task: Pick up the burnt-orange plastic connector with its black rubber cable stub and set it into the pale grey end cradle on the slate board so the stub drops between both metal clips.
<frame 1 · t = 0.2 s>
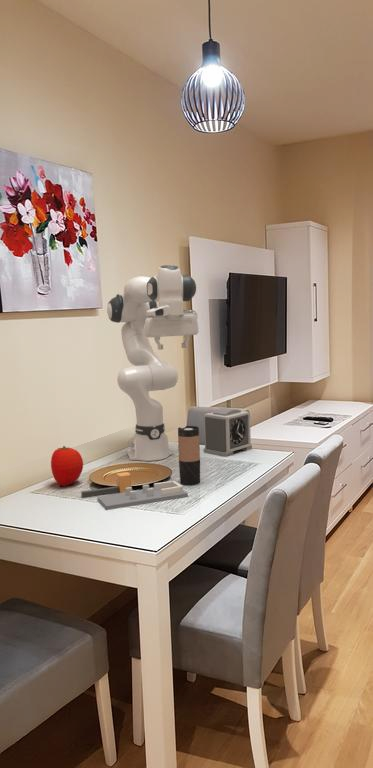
hand: (172, 348, 228), 48 cm above the table, fingers open, 8 cm apart
clip board: (142, 498, 208), on the table
alarm clock: (228, 451, 269), on the table
connector: (124, 490, 217), on the table
travel mug: (190, 483, 224), on the table
red apple: (67, 484, 227), on the table
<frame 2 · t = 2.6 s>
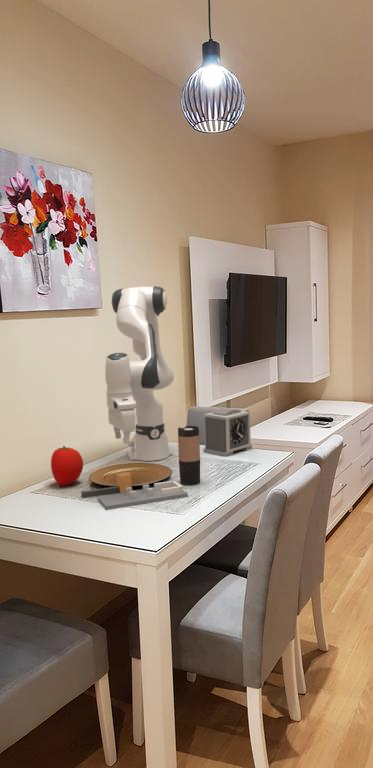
hand: (122, 440, 214), 18 cm above the table, fingers open, 8 cm apart
nothing on the table moved.
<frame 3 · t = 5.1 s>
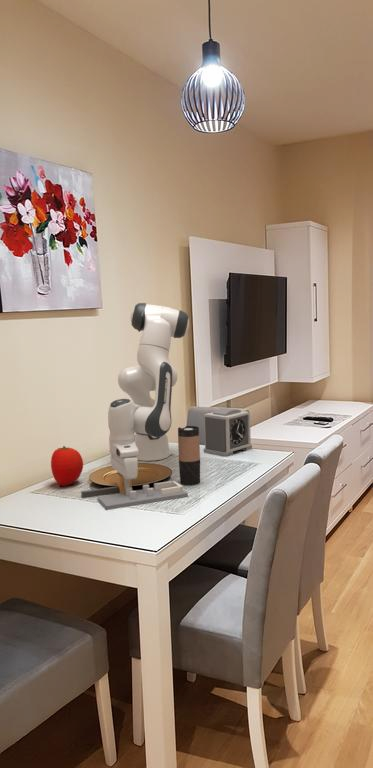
hand: (124, 485, 217), 2 cm above the table, fingers closed on connector, 4 cm apart
connector: (124, 490, 217), on the table, touching gripper
everything else where it was.
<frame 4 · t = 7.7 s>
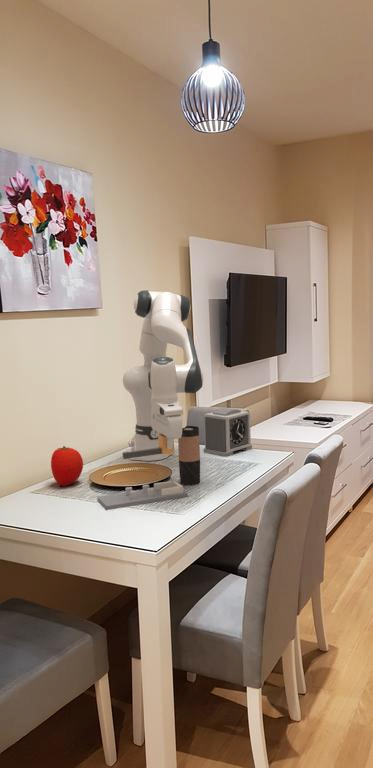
hand: (166, 447, 209), 16 cm above the table, fingers closed on connector, 4 cm apart
connector: (166, 452, 209), point 15 cm above the table, touching gripper
everything else where it was.
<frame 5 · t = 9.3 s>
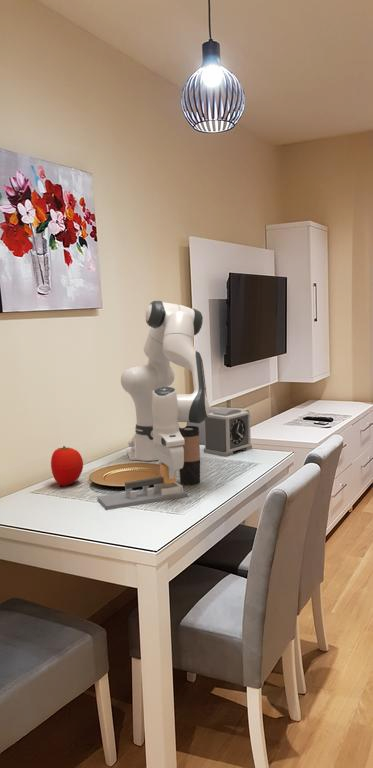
hand: (168, 476, 210), 6 cm above the table, fingers closed on connector, 4 cm apart
connector: (168, 481, 211), point 4 cm above the table, touching gripper
everything else where it was.
when the fingers open (5 cm above the table, at t = 10.3 s): connector drops 2 cm, resting on clip board.
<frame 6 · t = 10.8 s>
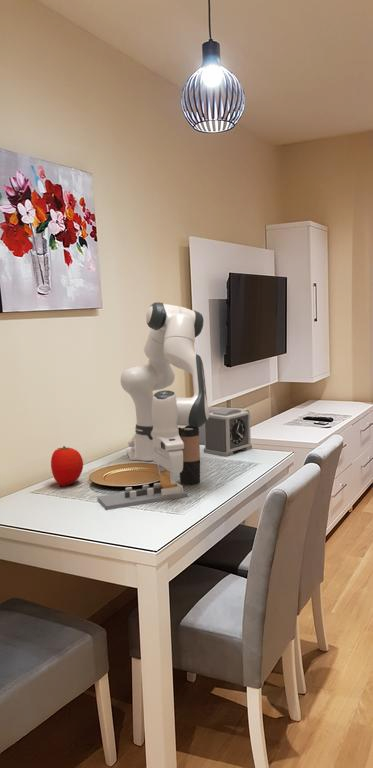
hand: (167, 479, 211), 5 cm above the table, fingers open, 8 cm apart
connector: (167, 490, 211), point 1 cm above the table, touching clip board
everything else where it was.
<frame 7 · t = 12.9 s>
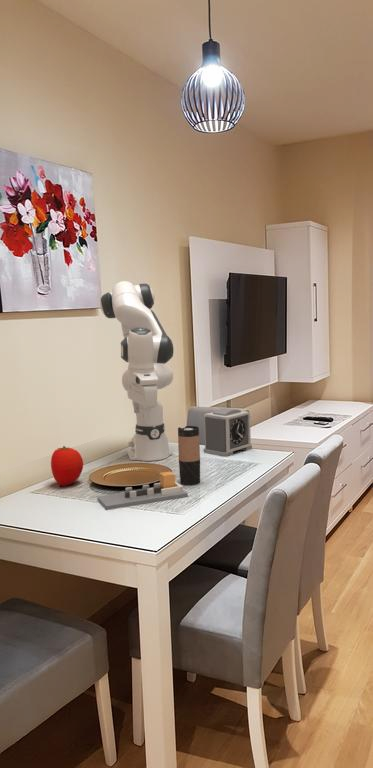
hand: (141, 415, 214), 26 cm above the table, fingers open, 8 cm apart
nothing on the table moved.
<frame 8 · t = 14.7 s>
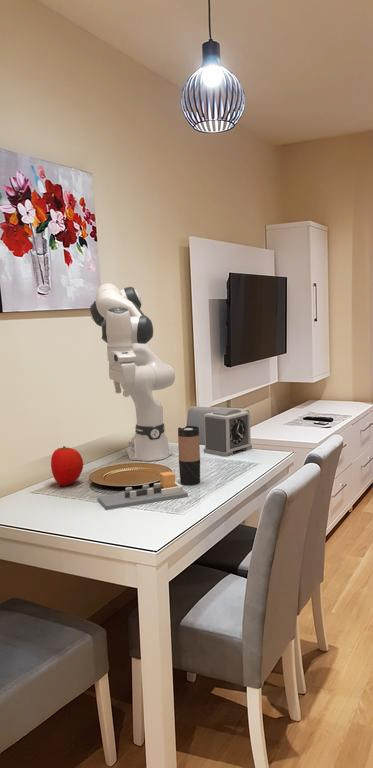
hand: (122, 394, 217), 33 cm above the table, fingers open, 8 cm apart
nothing on the table moved.
at the end: connector 0.1 cm from the target spot on the clip board, point 1.2 cm above the clip board's base; connector tilted 0°; the gripper is holding nothing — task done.
